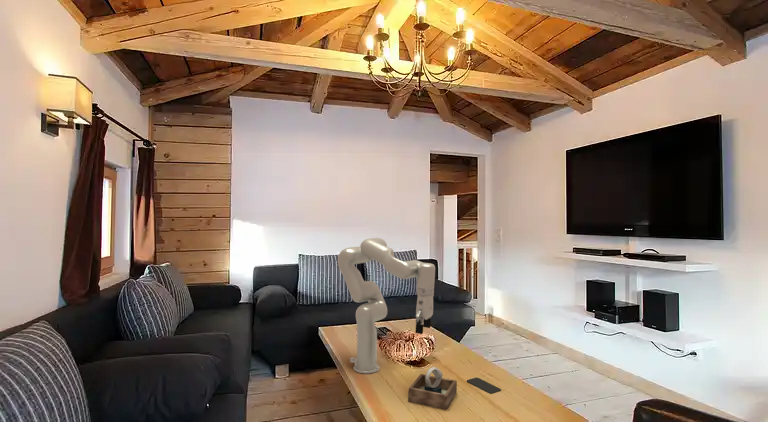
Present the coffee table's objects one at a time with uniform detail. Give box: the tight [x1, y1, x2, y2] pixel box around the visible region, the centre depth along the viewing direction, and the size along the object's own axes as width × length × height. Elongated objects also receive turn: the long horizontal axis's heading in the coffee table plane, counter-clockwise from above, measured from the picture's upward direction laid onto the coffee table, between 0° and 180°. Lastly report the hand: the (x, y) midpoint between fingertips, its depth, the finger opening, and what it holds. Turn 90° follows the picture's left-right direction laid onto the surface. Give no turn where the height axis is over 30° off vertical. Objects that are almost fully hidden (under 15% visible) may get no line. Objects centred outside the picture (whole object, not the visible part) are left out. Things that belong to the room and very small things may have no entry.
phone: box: [466, 377, 502, 395], centre depth 185 cm, size 7×1×15 cm
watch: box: [425, 366, 443, 393], centre depth 173 cm, size 6×8×11 cm
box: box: [407, 373, 458, 411], centre depth 172 cm, size 16×16×6 cm
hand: (423, 330), depth 182 cm, fingers open, 9 cm apart
